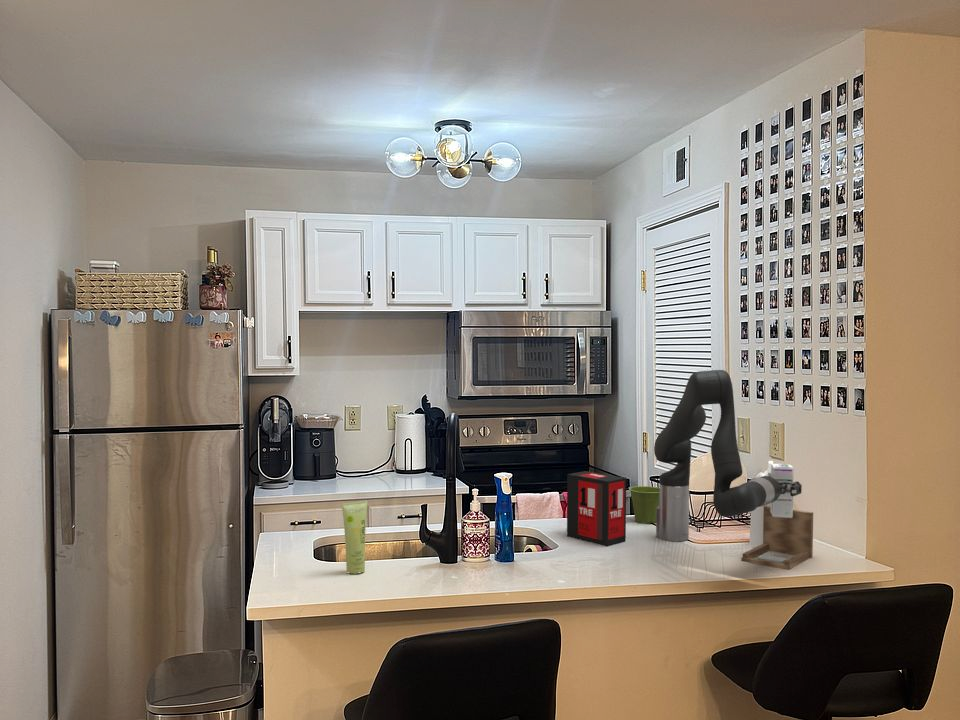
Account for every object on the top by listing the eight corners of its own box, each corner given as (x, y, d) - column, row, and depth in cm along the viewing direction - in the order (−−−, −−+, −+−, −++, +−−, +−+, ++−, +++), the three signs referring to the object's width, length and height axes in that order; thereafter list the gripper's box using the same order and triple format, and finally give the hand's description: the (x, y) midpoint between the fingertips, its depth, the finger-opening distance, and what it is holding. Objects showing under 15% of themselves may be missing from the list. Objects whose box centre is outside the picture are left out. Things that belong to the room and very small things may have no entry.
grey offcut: (757, 560, 241) (757, 557, 241) (763, 557, 245) (763, 554, 245) (781, 565, 237) (781, 561, 237) (787, 562, 240) (787, 558, 240)
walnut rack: (740, 564, 242) (741, 515, 241) (764, 552, 255) (765, 505, 254) (789, 574, 233) (790, 523, 232) (812, 560, 246) (813, 512, 245)
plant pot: (667, 525, 288) (667, 492, 287) (632, 525, 288) (632, 492, 287) (659, 517, 300) (659, 485, 299) (625, 517, 299) (625, 485, 299)
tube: (359, 576, 231) (358, 504, 230) (342, 574, 232) (341, 503, 231) (368, 570, 236) (367, 500, 235) (351, 568, 237) (350, 498, 237)
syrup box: (793, 518, 242) (795, 467, 241) (771, 516, 243) (772, 466, 242) (790, 513, 247) (792, 464, 247) (769, 512, 249) (770, 462, 248)
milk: (789, 553, 253) (791, 466, 252) (749, 550, 257) (750, 464, 256) (789, 543, 265) (790, 460, 264) (750, 540, 269) (751, 458, 267)
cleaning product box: (625, 541, 267) (626, 478, 266) (607, 546, 261) (607, 481, 260) (585, 531, 279) (585, 471, 278) (566, 536, 273) (567, 474, 272)
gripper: (787, 481, 229) (809, 473, 241) (736, 474, 238) (760, 467, 251) (786, 509, 229) (808, 499, 242) (735, 501, 239) (759, 492, 251)
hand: (784, 483), depth 246 cm, fingers closed on syrup box, 7 cm apart
